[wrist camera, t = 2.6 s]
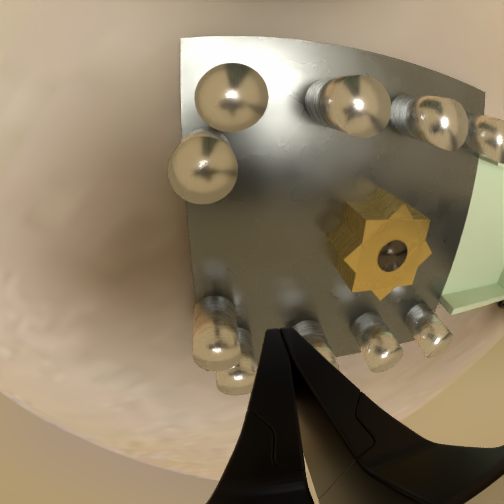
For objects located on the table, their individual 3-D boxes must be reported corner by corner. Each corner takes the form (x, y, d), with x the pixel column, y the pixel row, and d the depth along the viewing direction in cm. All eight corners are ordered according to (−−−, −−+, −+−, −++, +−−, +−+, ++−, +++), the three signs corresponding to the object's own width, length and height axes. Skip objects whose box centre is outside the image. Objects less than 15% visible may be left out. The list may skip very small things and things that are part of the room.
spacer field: (478, 91, 13) (525, 100, 9) (419, 333, 22) (442, 366, 19) (177, 41, 10) (164, 18, 7) (203, 364, 20) (204, 412, 17)
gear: (419, 189, 15) (445, 205, 13) (399, 273, 18) (419, 295, 15) (332, 186, 14) (353, 203, 12) (320, 281, 17) (334, 307, 15)
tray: (529, 165, 15) (548, 174, 13) (494, 284, 21) (509, 297, 19) (474, 147, 14) (499, 157, 12) (434, 296, 20) (450, 315, 18)
